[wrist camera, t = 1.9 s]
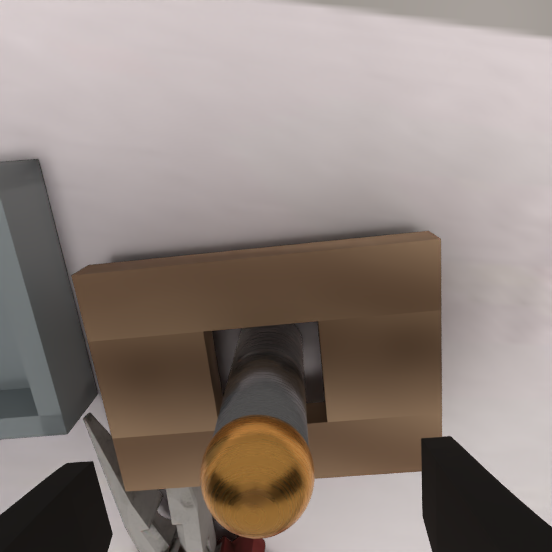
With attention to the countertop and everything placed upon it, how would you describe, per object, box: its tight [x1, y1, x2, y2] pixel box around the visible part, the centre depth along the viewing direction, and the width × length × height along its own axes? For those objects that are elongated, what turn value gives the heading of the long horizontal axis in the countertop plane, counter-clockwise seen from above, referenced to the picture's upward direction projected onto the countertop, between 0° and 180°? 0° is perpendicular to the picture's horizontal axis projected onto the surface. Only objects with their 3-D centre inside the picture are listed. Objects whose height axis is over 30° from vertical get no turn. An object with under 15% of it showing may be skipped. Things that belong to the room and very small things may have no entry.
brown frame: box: [72, 231, 442, 491], centre depth 16 cm, size 8×11×2 cm
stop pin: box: [200, 323, 315, 539], centre depth 13 cm, size 3×3×8 cm
